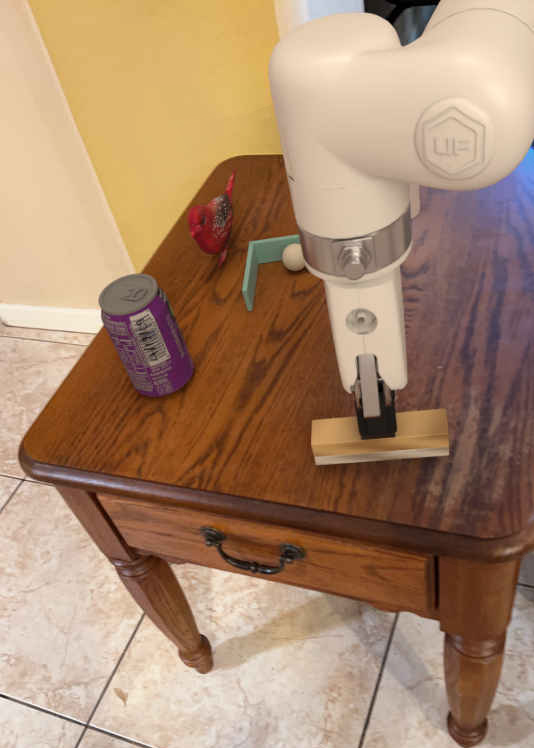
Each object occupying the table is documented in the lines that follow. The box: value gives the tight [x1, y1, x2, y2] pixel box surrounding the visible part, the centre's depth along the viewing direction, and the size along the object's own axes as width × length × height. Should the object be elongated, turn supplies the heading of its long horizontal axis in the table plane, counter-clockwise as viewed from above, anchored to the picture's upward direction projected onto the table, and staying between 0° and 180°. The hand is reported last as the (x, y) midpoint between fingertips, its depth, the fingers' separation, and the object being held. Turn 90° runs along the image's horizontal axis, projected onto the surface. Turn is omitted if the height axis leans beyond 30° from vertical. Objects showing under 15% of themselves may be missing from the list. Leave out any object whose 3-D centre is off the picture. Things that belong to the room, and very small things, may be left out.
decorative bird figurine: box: [187, 169, 236, 270], centre depth 89 cm, size 3×18×10 cm, turn 166°
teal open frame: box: [241, 234, 301, 312], centre depth 85 cm, size 17×16×3 cm
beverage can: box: [97, 273, 195, 398], centre depth 75 cm, size 7×7×12 cm
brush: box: [310, 384, 450, 466], centre depth 61 cm, size 12×3×10 cm, turn 86°
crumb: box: [282, 244, 306, 272], centre depth 86 cm, size 3×3×3 cm
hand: (377, 414), depth 61 cm, fingers closed on brush, 3 cm apart
